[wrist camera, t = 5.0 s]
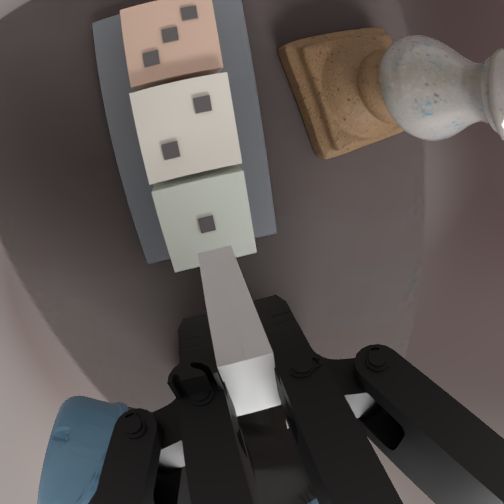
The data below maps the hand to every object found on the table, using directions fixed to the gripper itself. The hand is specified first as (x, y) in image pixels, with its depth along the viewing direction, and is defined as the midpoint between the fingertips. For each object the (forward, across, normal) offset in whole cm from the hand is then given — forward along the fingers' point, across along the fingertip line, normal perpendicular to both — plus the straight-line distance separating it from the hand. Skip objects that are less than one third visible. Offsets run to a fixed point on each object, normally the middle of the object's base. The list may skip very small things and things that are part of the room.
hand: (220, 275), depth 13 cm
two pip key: (+10, 0, -6) cm, 12 cm away
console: (+13, 0, -6) cm, 15 cm away
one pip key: (+10, 0, 0) cm, 10 cm away
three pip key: (+11, 0, -13) cm, 17 cm away
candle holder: (+14, -15, -8) cm, 22 cm away
